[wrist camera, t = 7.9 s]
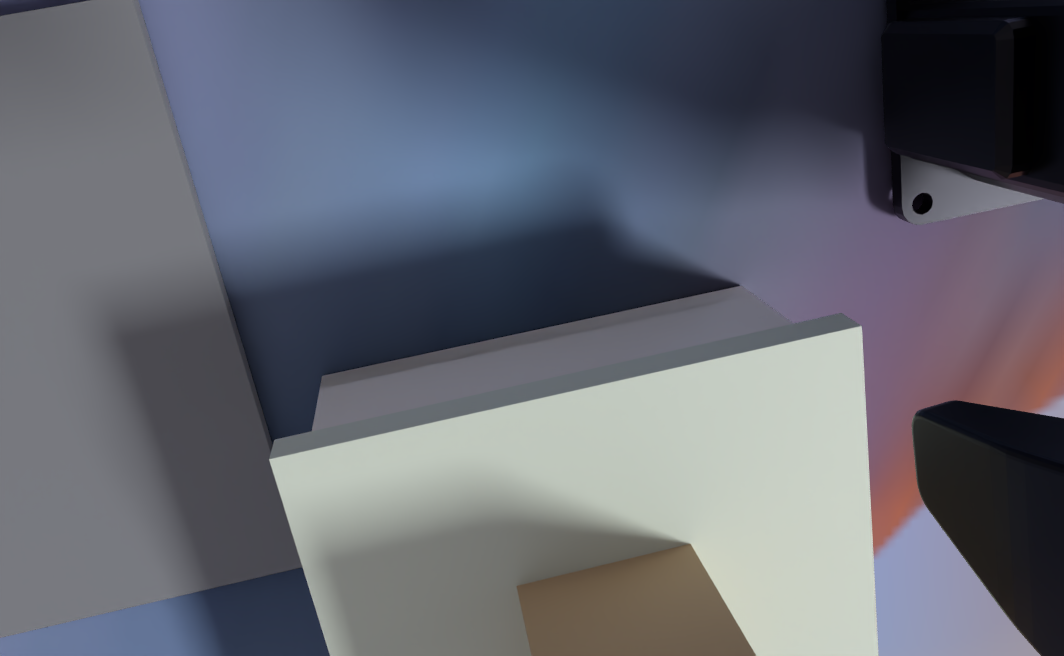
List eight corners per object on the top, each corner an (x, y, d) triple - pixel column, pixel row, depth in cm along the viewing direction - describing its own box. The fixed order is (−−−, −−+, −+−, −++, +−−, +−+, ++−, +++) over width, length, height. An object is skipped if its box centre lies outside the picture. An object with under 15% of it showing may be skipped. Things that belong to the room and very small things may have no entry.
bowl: (741, 285, 21) (818, 341, 17) (774, 628, 25) (843, 736, 21) (322, 375, 20) (306, 454, 17) (415, 718, 24) (420, 847, 20)
